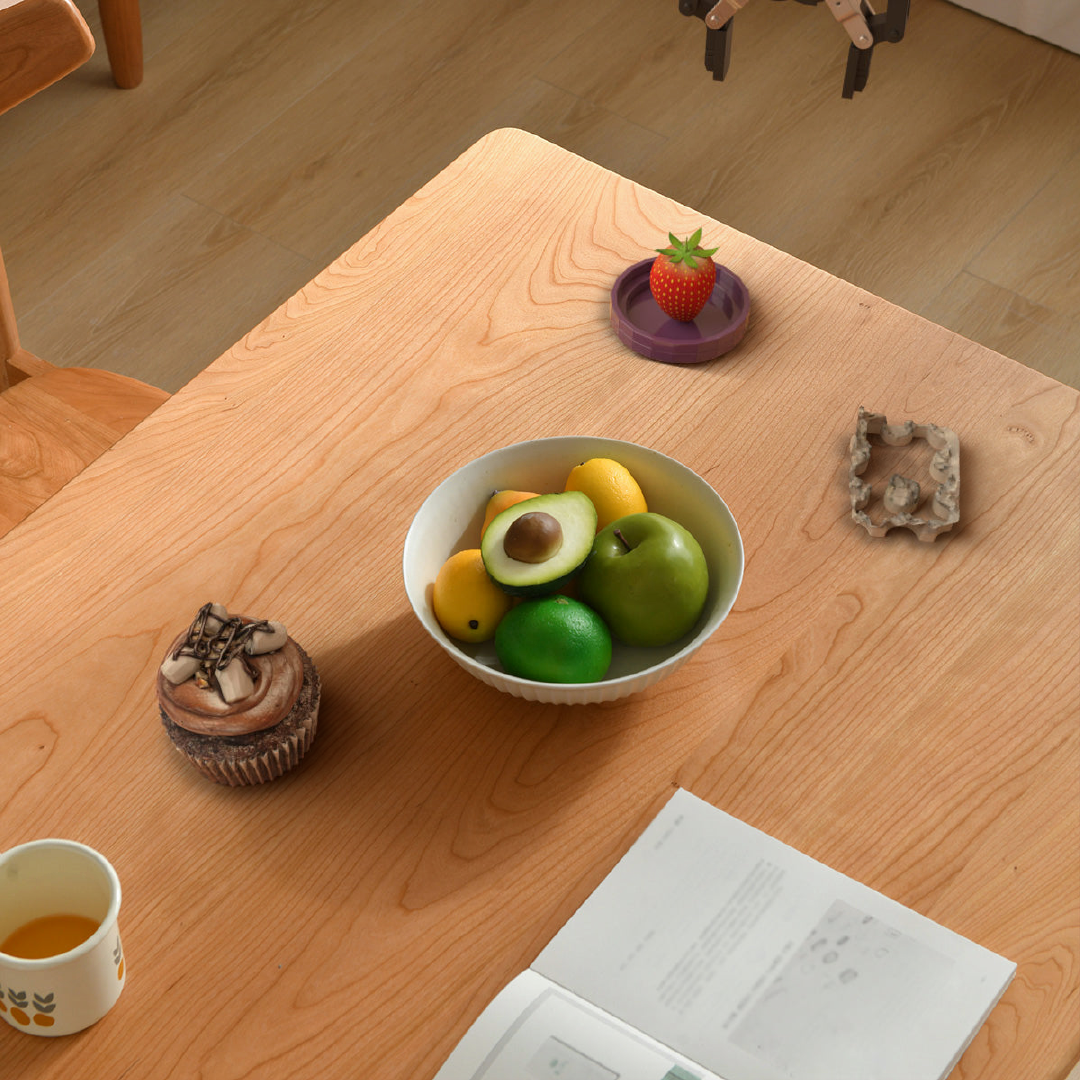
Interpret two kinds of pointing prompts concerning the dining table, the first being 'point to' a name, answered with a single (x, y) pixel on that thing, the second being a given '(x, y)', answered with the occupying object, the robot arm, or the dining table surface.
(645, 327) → the dish
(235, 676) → the cupcake
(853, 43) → the robot arm
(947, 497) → the egg carton
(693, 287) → the fruit
